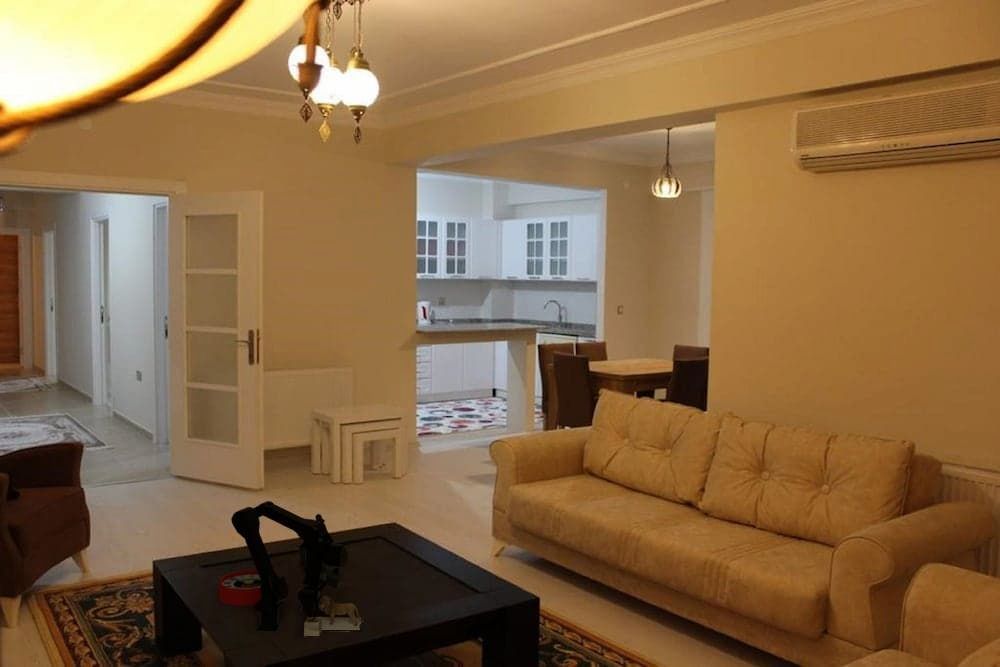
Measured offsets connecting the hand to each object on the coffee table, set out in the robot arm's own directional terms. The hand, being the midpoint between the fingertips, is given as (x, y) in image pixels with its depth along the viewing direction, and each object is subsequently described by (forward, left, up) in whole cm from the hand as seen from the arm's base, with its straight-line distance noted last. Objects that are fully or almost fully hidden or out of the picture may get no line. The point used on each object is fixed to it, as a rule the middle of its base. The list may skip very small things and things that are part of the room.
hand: (313, 611), depth 271 cm
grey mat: (-7, +7, -7) cm, 12 cm away
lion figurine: (-7, +7, -7) cm, 12 cm away
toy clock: (-31, -29, -8) cm, 44 cm away
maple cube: (0, 0, -7) cm, 7 cm away
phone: (-24, -5, -8) cm, 26 cm away
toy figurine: (-67, -14, -7) cm, 69 cm away
